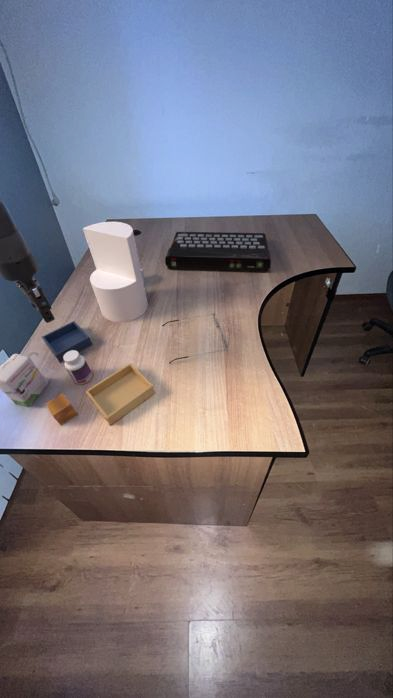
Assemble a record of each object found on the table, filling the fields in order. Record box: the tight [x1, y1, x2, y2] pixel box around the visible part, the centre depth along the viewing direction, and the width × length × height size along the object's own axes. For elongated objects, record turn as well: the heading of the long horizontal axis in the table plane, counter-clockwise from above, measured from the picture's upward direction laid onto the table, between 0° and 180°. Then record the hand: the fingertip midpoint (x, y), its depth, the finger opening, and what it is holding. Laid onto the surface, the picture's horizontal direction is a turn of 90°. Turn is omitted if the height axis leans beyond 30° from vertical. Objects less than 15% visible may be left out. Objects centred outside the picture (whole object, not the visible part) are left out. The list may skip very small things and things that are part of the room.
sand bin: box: [85, 362, 156, 426], centre depth 72 cm, size 14×11×4 cm
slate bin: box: [41, 320, 94, 363], centre depth 86 cm, size 11×11×4 cm
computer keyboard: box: [164, 231, 272, 273], centre depth 123 cm, size 45×28×7 cm, turn 84°
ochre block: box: [45, 392, 78, 426], centre depth 68 cm, size 5×5×5 cm
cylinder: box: [82, 221, 149, 323], centre depth 90 cm, size 17×17×28 cm
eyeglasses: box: [161, 312, 229, 364], centre depth 86 cm, size 18×19×4 cm
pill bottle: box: [63, 350, 93, 385], centre depth 74 cm, size 5×5×10 cm
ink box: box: [0, 353, 49, 408], centre depth 70 cm, size 8×5×12 cm, turn 164°
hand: (43, 313), depth 68 cm, fingers open, 8 cm apart
